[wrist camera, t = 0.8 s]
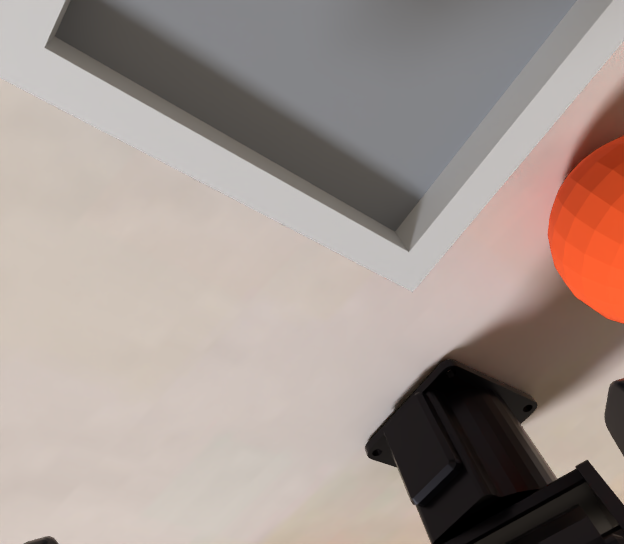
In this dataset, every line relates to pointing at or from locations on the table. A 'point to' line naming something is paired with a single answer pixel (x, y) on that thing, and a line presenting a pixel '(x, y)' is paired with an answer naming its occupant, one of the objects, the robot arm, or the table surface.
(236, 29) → the grey storage bin
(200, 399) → the table surface
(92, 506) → the table surface
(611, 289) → the clementine
